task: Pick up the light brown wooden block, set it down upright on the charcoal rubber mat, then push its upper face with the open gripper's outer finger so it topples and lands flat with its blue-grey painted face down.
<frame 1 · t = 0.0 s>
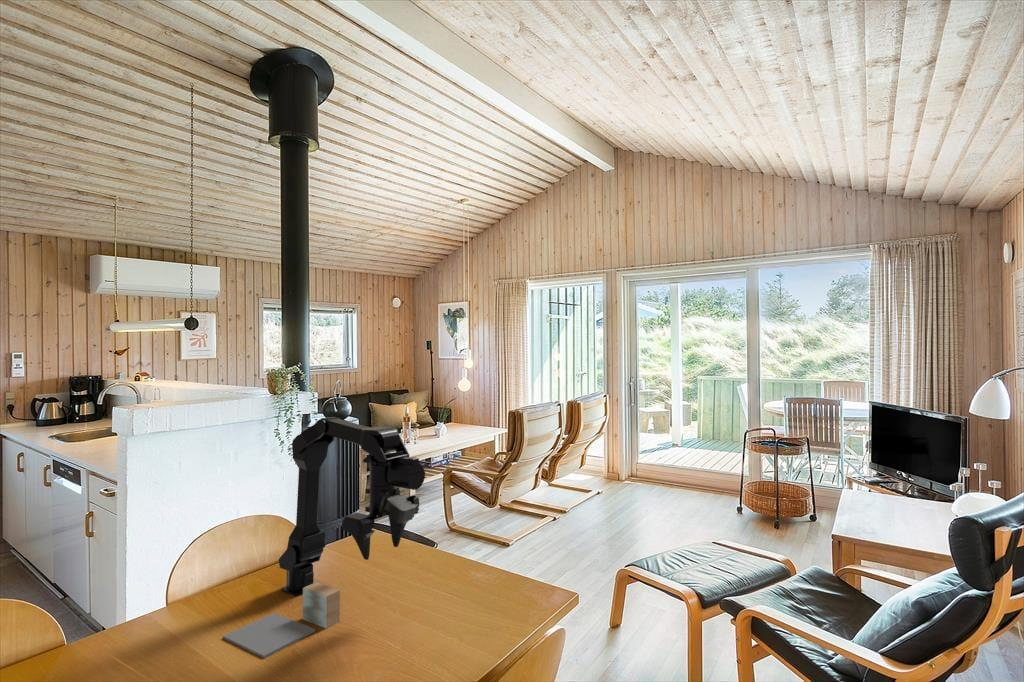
hand: (381, 552, 122), 14 cm above the table, fingers open, 9 cm apart
light brown wooden block: (321, 620, 120), on the table
rubber mat: (269, 634, 113), on the table
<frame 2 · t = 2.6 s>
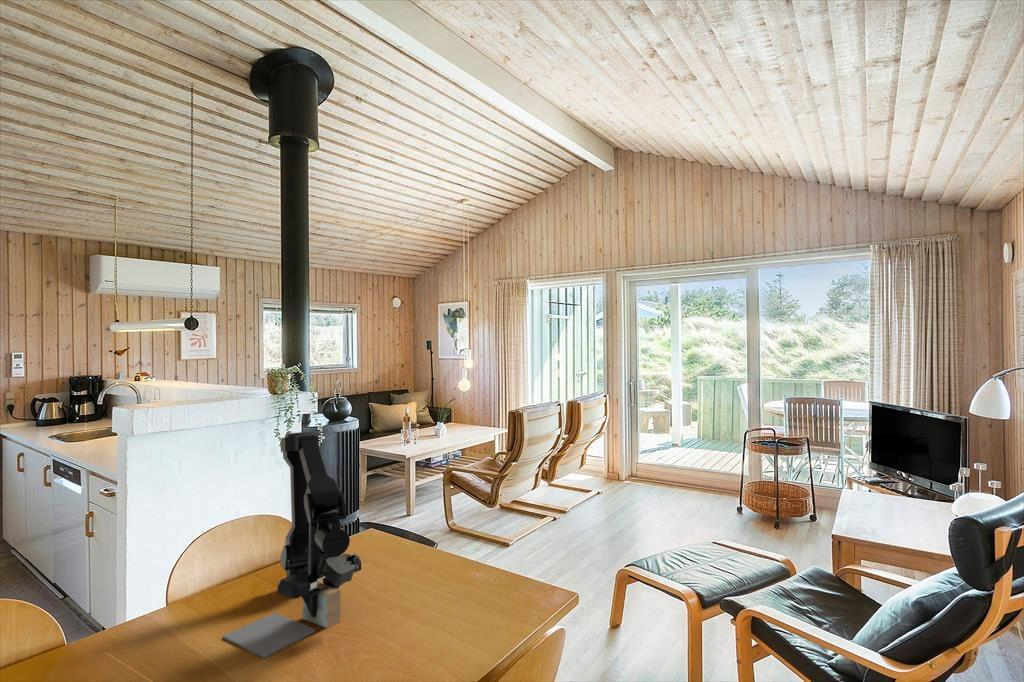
hand: (321, 613, 120), 2 cm above the table, fingers closed on light brown wooden block, 4 cm apart
light brown wooden block: (321, 620, 120), on the table, touching gripper
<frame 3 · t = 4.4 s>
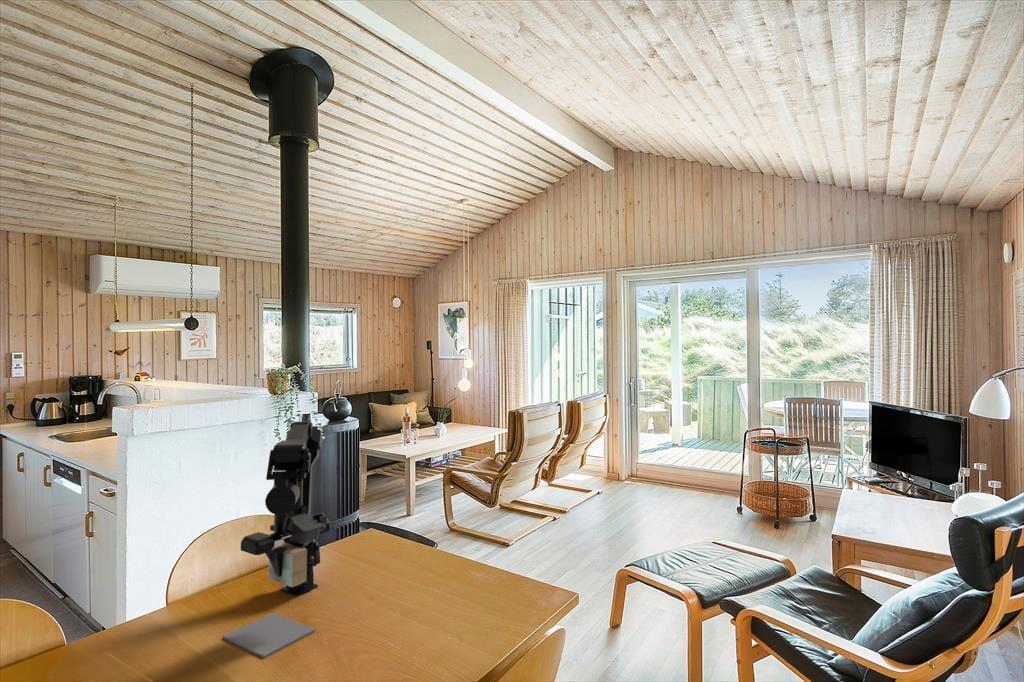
hand: (287, 573, 117), 12 cm above the table, fingers closed on light brown wooden block, 4 cm apart
light brown wooden block: (287, 580, 117), point 10 cm above the table, touching gripper
when the fingers open (3 cm above the table, at t = 6.2 s): light brown wooden block stays where it is, resting on rubber mat.
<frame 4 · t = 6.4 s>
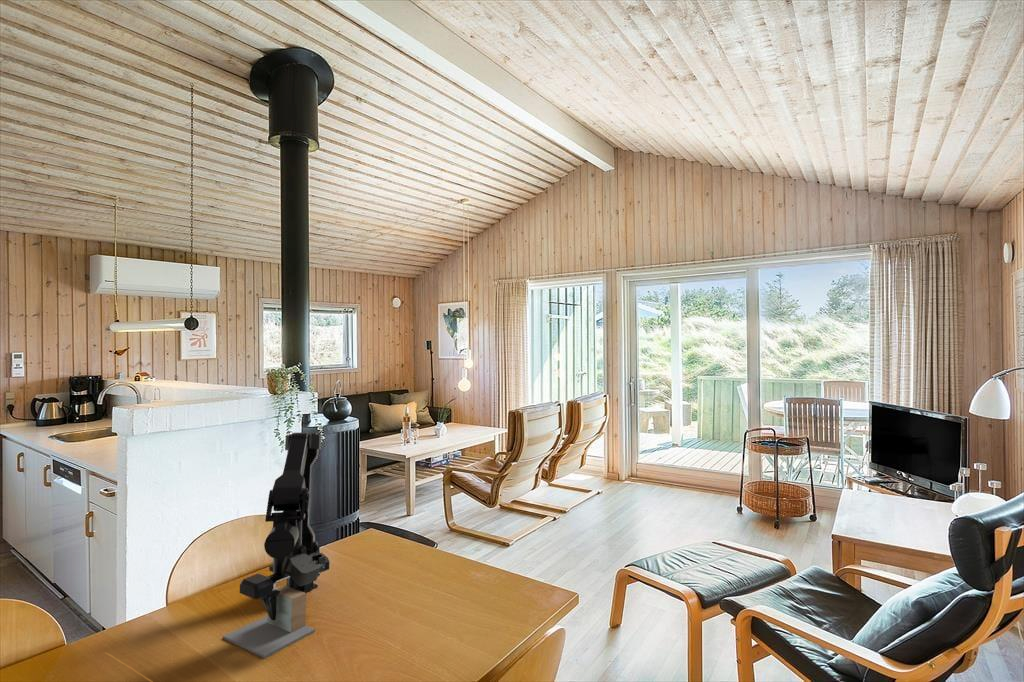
hand: (286, 613, 117), 3 cm above the table, fingers open, 6 cm apart
light brown wooden block: (286, 624, 117), resting on rubber mat
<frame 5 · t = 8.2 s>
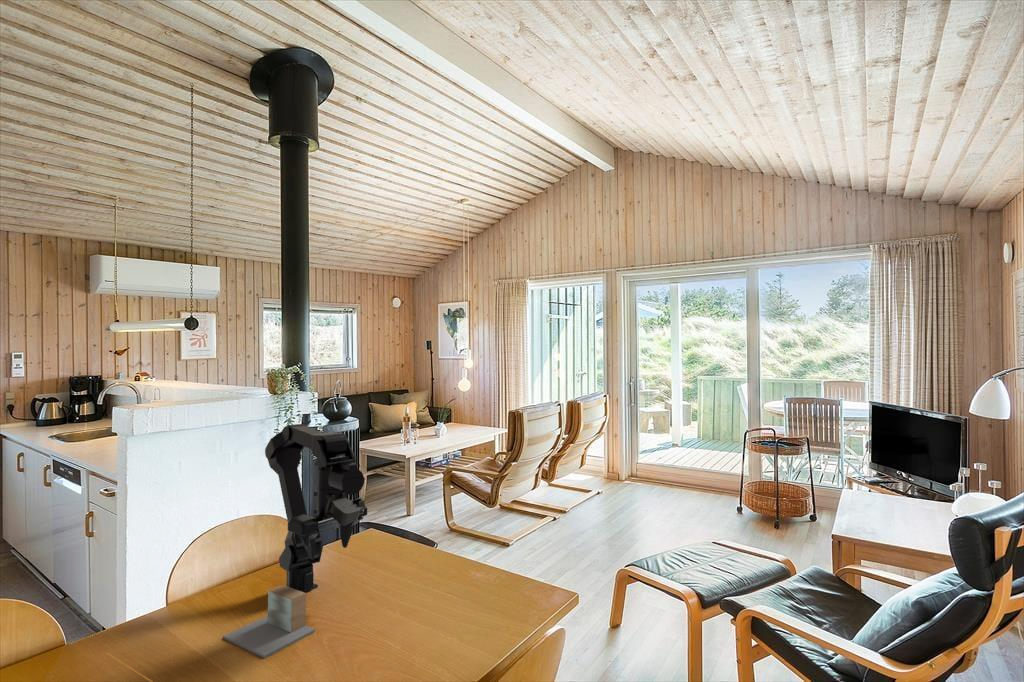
hand: (328, 553, 127), 12 cm above the table, fingers open, 9 cm apart
nothing on the table moved.
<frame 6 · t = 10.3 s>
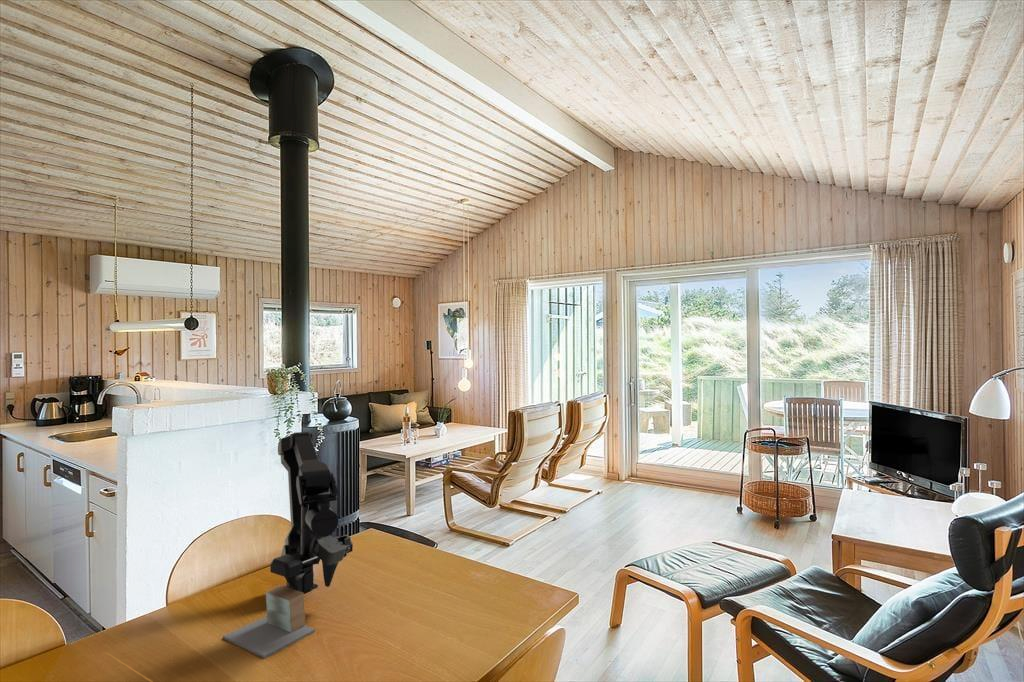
hand: (313, 592, 123), 5 cm above the table, fingers open, 8 cm apart
light brown wooden block: (286, 623, 117), point 1 cm above the table, touching gripper, rubber mat
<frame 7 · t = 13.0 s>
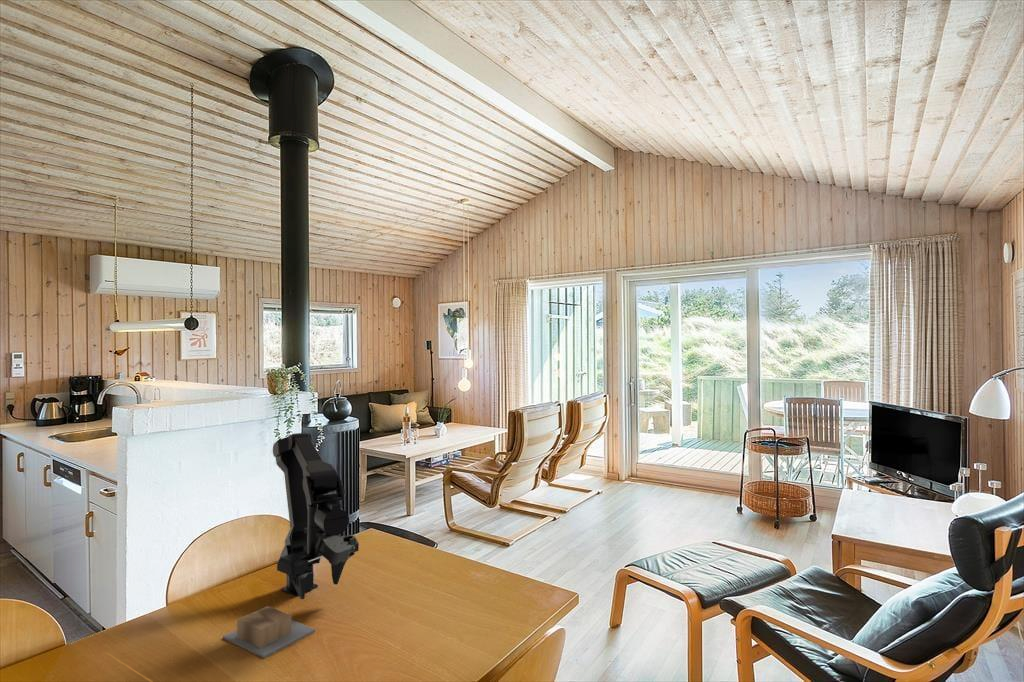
hand: (319, 591, 124), 4 cm above the table, fingers open, 9 cm apart
light brown wooden block: (279, 618, 115), point 2 cm above the table, tilted 90°, touching rubber mat
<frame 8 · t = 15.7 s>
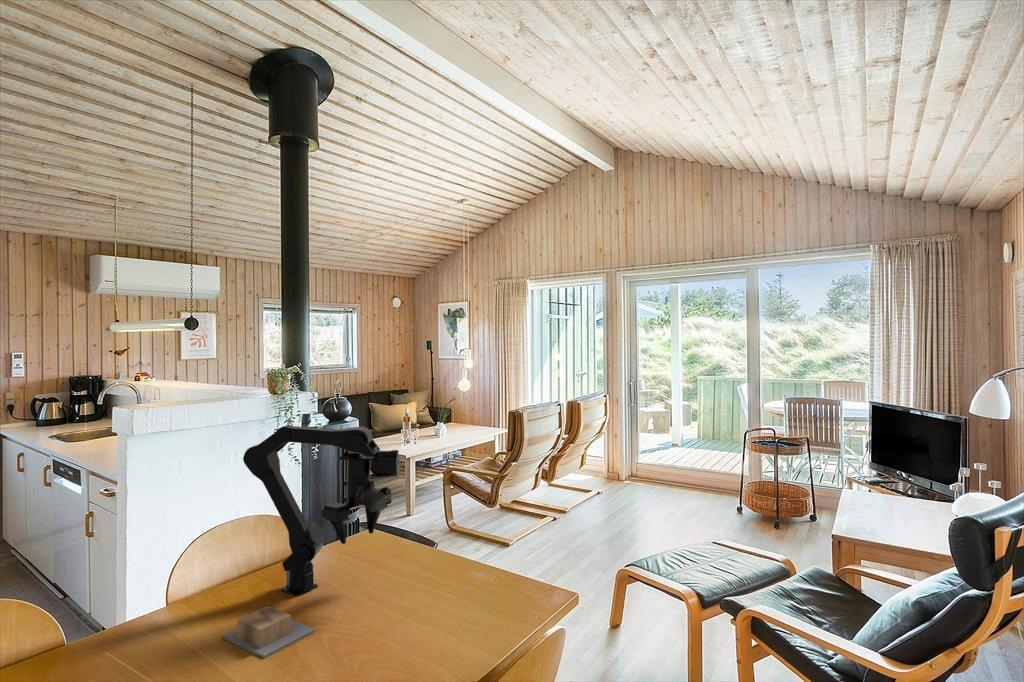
hand: (357, 538, 137), 12 cm above the table, fingers open, 9 cm apart
nothing on the table moved.
at the end: light brown wooden block tilted 90°; light brown wooden block inside the target area (2.3 cm from its centre), point 2.4 cm above the table; the gripper is holding nothing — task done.
